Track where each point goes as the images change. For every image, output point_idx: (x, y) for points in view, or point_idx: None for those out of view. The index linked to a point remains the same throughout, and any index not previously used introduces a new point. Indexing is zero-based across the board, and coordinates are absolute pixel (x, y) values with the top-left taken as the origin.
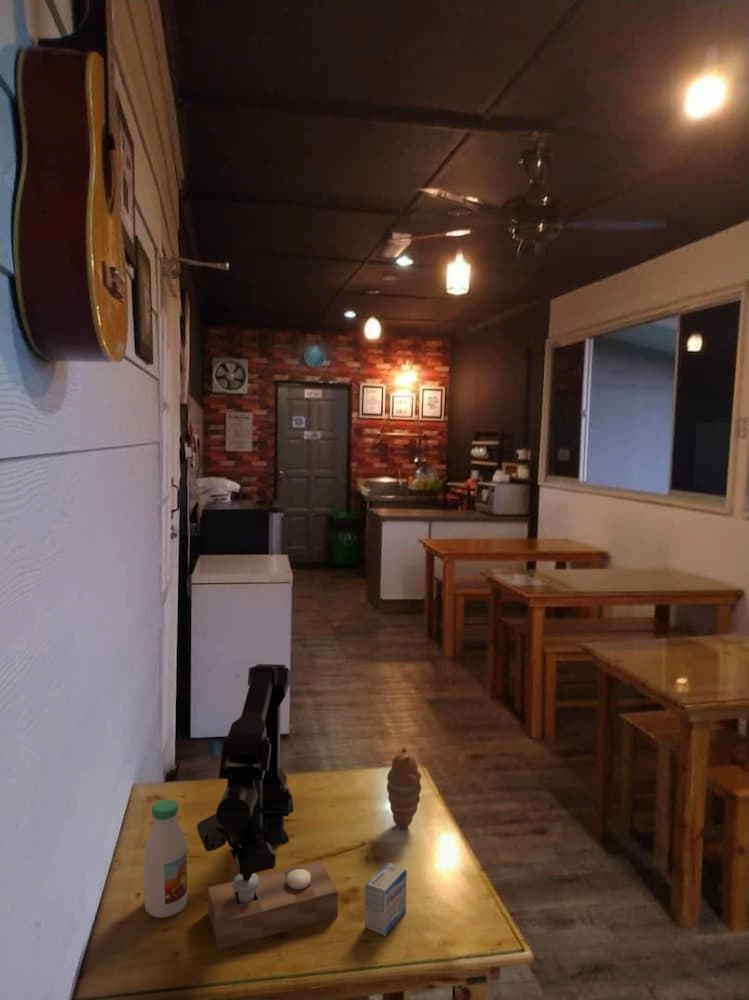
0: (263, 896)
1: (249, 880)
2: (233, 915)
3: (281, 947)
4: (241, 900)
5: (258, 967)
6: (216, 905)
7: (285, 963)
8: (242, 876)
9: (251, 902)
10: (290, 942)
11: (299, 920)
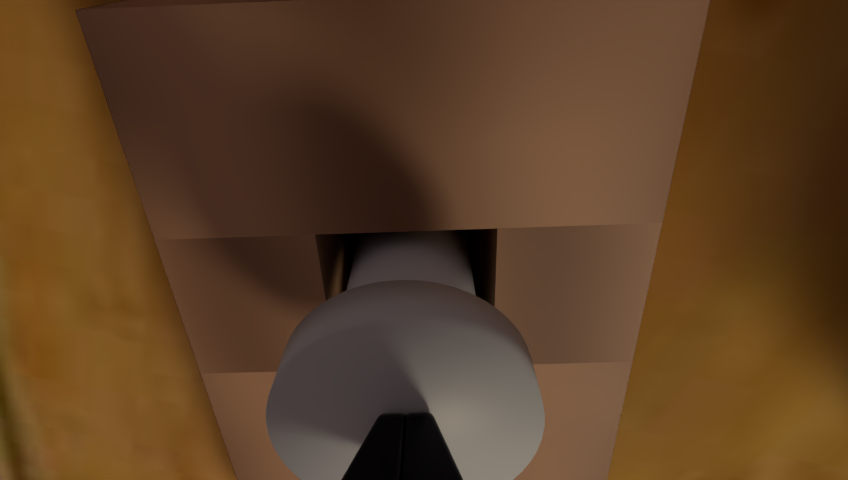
0: None
1: None
2: (180, 173)
3: (174, 324)
4: (360, 266)
5: (32, 201)
6: (362, 33)
7: (62, 319)
8: (426, 429)
9: None
10: None
11: None
